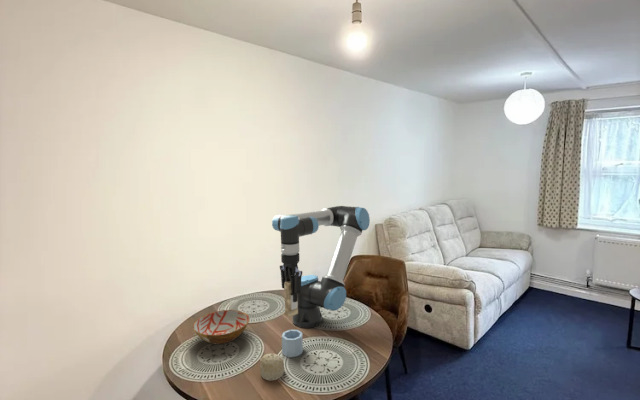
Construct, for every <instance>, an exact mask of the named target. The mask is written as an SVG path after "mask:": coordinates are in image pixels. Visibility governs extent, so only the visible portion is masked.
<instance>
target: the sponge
mask: <svg viewBox="0 0 640 400" xmlns="http://www.w3.org/2000/svg"><path fill="white" fill-rule="evenodd" d="M259 364H260V366H259V369H260V376H261V378H262V379H264V380H266V381H268V382H269V381H270V382H271V381H277V380H279V379H280V378H282V377H283V375H284V374H285V363H284V359H283V358H282V356H281V355H279V354H276V353H265V354H263V356H262V357H261V359H260V363H259Z"/></svg>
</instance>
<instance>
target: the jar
mask: <svg viewBox="0 0 640 400" xmlns="http://www.w3.org/2000/svg"><path fill="white" fill-rule="evenodd" d="M303 338H304V337H303V332H302V331H300V330H299V329H288V330H286V331H283V332H282V335H281V352H282V355H283V356H284V357H287V358H297V357H299V356H301V355H302V354H303V352H304V344H303V343H304V339H303Z"/></svg>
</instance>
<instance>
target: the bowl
mask: <svg viewBox="0 0 640 400" xmlns="http://www.w3.org/2000/svg"><path fill="white" fill-rule="evenodd" d="M249 322H250V316H249V315H248V314H247V313H246V312H244V311H241V310H238V309H237V310H236V309H226V310H217V311H213V312H210V313H207V314H205V315H202V316H201V317H199V318H197V319H196V320H195V321H194V323H192V329H193V331H194V333H195V334H196V335H197V336H198V338H200V340H203V341H205V343H209V344H213V345H224V343H225V344H228V343H230V342H232V341H234V340H235V339H237V338H238V337H240V336H241V335H242V333H243V332H244V331H245V330H246V328H247V326H248V324H249Z"/></svg>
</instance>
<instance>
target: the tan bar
mask: <svg viewBox="0 0 640 400" xmlns="http://www.w3.org/2000/svg"><path fill="white" fill-rule="evenodd" d="M283 289H285V290H284V315H286V316H287V317H289V318H291V317H293V315H296V314H298V294H297V308H296V309H293V310H291V293H292V290H291V281H288V282H284V288H283Z"/></svg>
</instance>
